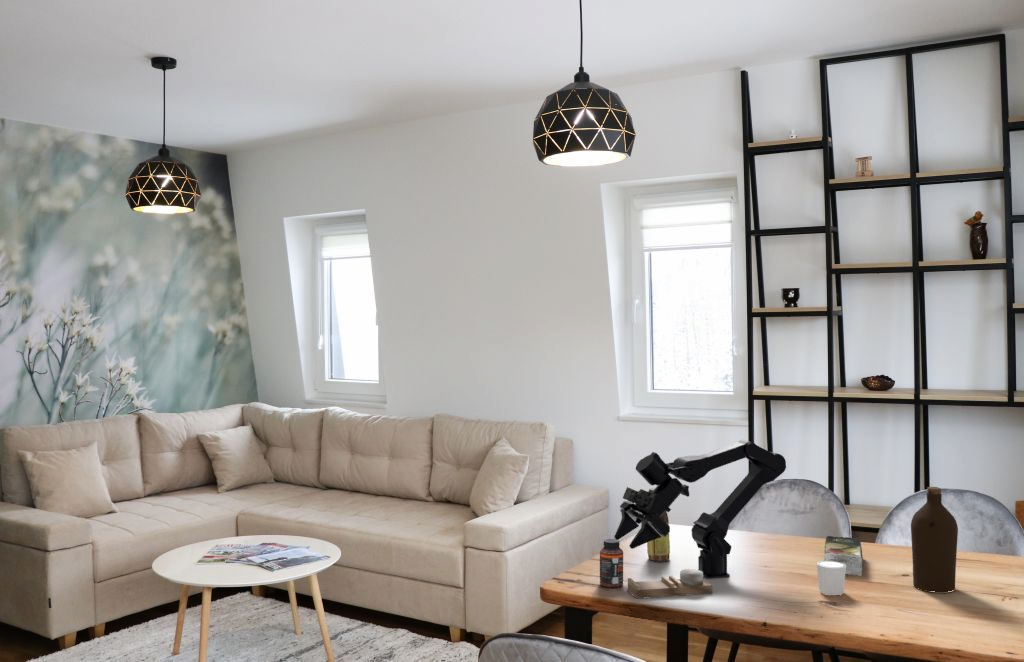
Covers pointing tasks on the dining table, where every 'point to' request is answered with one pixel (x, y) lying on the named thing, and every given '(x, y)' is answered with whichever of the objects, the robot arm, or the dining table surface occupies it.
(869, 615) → the dining table surface
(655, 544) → the sauce bottle
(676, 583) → the wooden slotted rack
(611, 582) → the supplement bottle
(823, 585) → the white cup
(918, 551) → the olive oil
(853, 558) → the juice carton
